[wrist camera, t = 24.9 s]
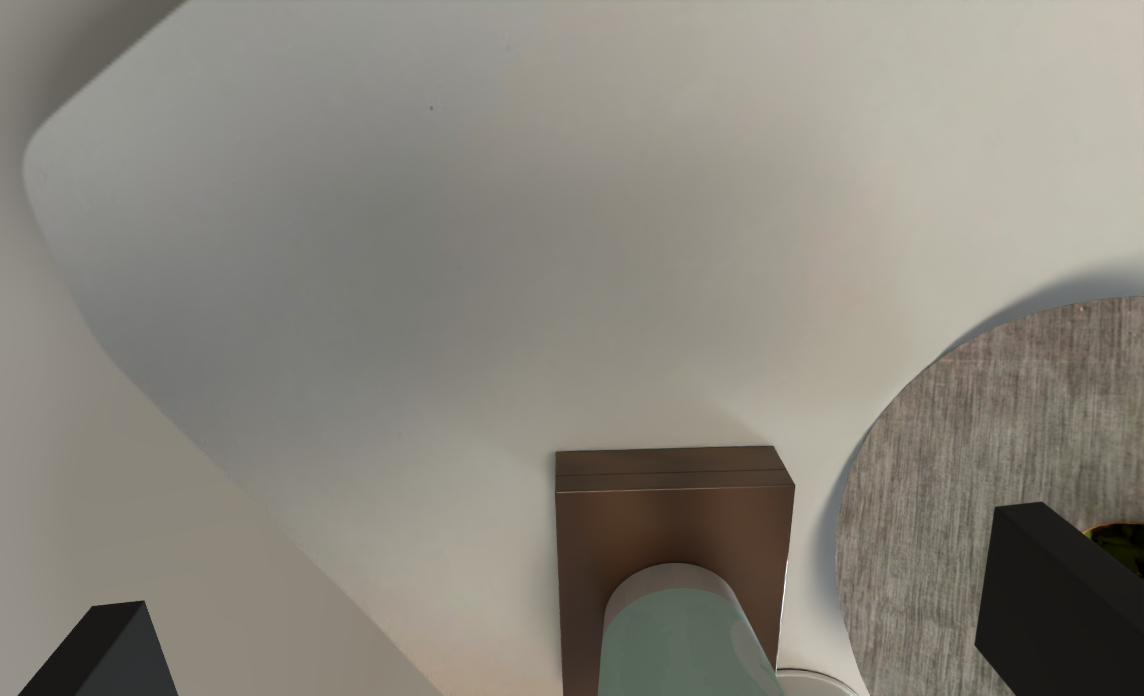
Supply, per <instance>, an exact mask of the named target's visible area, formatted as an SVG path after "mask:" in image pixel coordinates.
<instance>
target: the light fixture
mask: <svg viewBox="0 0 1144 696" xmlns="http://www.w3.org/2000/svg"><path fill="white" fill-rule="evenodd" d="M776 676H777V678H778V680H779V682H780V684H781V686H782V688H783V690H784V692H785V694H786V696H857V695H856V693H855V692H853V691H852V690H851V689H850V688H849V687H847V686H846V685H844V684H843V683H841V682H839V681H837V680H835V679H833V678H830V677H828V676H825V675H822V674H818V673H814V672H809V671H801V670H776Z"/></svg>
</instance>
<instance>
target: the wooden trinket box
mask: <svg viewBox="0 0 1144 696" xmlns="http://www.w3.org/2000/svg"><path fill="white" fill-rule="evenodd" d="M794 493H795V484H794V482H793V480H792V478H791V477H790V475H789V473H788V471H787V470H786V468H785V466H784V464H783V462H782V460H781V459H780V457H779V455H778V453H777V452H776V450H775V448H774V446H759V447H723V448H687V449H652V450H616V451H581V452H556V468H555V505H556V530H557V555H558V579H559V604H560V628H561V653H562V677H563V696H598V686H599V674H600V661H601V649H602V639H603V627H604V616H605V610H606V606H607V604H608V601H609V599H610V597H611V595H612V594H613V592H614V591H615V590H616V589H617V587H618V586H619V585H620V584H621V583H622V582H623V581H625V580H626V579H627V578H629V577H630V576H632V575H633V574H635V573H637V572H639V571H641V570H643V569H645V568H648V567H651V566H655V565H660V564H666V563H685V564H692V565H696V566H700V567H703V568H705V569H707V570H710V571H712V572H713V573H715V574H717V575H718V576H719V577H721V578H722V579H723V580H724V581H725V582H726V583H727V584H728V585H729V586H730V588H731V589H732V590H733V592H734V594H735V596H736V598H737V600H738V602H739V604H740V606H741V608H742V610H743V611H744V613H745V615H746V617H747V619H748V621H749V623H750V625H751V627H752V629H753V631H754V633H755V635H756V637H757V639H758V641H759V643H760V645H761V647H762V649H763V651H764V653H765V655H766V657H767V659H768V661H769V663H770V665H771V667H772V669H773V671H774V673H775V675H776V669H777V659H778V650H779V640H780V630H781V620H782V611H783V601H784V591H785V581H786V571H787V562H788V552H789V542H790V532H791V522H792V513H793V503H794Z"/></svg>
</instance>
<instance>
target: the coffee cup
mask: <svg viewBox="0 0 1144 696" xmlns="http://www.w3.org/2000/svg"><path fill="white" fill-rule="evenodd" d="M598 696H786V694H785V692H784V690H783V688H782V686H781V684H780V682H779V680H778V678H777V676H776V675H775V673H774V671H773V669H772V667H771V665H770V663H769V661H768V659H767V657H766V655H765V653H764V651H763V649H762V647H761V645H760V643H759V641H758V639H757V637H756V635H755V633H754V631H753V629H752V627H751V625H750V623H749V621H748V619H747V617H746V615H745V613H744V611H743V610H742V608H741V606H740V604H739V602H738V600H737V598H736V596H735V594H734V592H733V590H732V589H731V588H730V586H729V585H728V584H727V583H726V582H725V581H724V580H723V579H722V578H721V577H719V576H718V575H717V574H715V573H713V572H712V571H710V570H707V569H705V568H703V567H700V566H696V565H692V564H685V563H666V564H660V565H655V566H651V567H648V568H645V569H643V570H641V571H639V572H637V573H635V574H633V575H632V576H630V577H629V578H627V579H626V580H625V581H623V582H622V583H621V584H620V585H619V586H618V587H617V589H616V590H615V591H614V592H613V594H612V595H611V597H610V599H609V601H608V604H607V606H606V610H605V616H604V627H603V639H602V649H601V661H600V674H599V686H598Z"/></svg>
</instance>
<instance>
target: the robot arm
mask: <svg viewBox="0 0 1144 696" xmlns="http://www.w3.org/2000/svg"><path fill="white" fill-rule="evenodd" d="M974 646H975V647H976V648H977V649H978V651H979V652H980V653H981V654H982V655H983V657H984V658H985V659H986V660H987V661H988V663H989V664H990V665H991V666H992V668H993V669H994V670H995V671H996V672H997V674H998V675H999V676H1000V677H1001V679H1002V680H1003V681H1004V682H1005V683H1006V685H1007V686H1008V687H1009V688H1010V689H1011V691H1012V692H1013V693H1014V694H1015V696H1144V581H1143V580H1142V579H1141V578H1139V577H1138V576H1137V575H1136V574H1134V573H1133V572H1132V571H1130V570H1129V569H1128V568H1127V567H1125V566H1124V565H1123V564H1121V563H1120V562H1119V561H1118V560H1116V559H1115V558H1114V557H1112V556H1111V555H1110V554H1109V553H1107V552H1106V551H1105V550H1104V549H1102V548H1101V547H1100V546H1098V545H1097V544H1096V543H1095V542H1093V541H1092V540H1091V539H1089V538H1088V537H1087V536H1086V535H1084V534H1083V533H1082V532H1081V531H1079V530H1078V529H1077V528H1075V527H1074V526H1073V525H1072V524H1070V523H1069V522H1068V521H1066V520H1065V519H1064V518H1063V517H1061V516H1060V515H1059V514H1058V513H1056V512H1055V511H1054V510H1052V509H1051V508H1050V507H1049V506H1047V505H1046V504H1045V503H1043V502H1042V501H1041V502H1032V503H1023V504H1014V505H1005V506H996V507H995V509H994V515H993V522H992V529H991V535H990V542H989V549H988V556H987V562H986V569H985V576H984V582H983V589H982V596H981V603H980V609H979V616H978V623H977V629H976V636H975V643H974ZM18 696H178V694H177V691H176V688H175V685H174V682H173V680H172V677H171V674H170V671H169V669H168V666H167V663H166V660H165V657H164V654H163V652H162V649H161V646H160V643H159V640H158V638H157V635H156V632H155V629H154V626H153V624H152V621H151V618H150V615H149V612H148V609H147V607H146V604H145V601H135V602H126V603H117V604H108V605H99V606H92V607H91V608H90V610H89V611H88V612H87V613H86V614H85V615H84V617H83V618H82V619H81V620H80V621H79V623H78V624H77V625H76V626H75V627H74V629H73V630H72V631H71V632H70V633H69V635H68V636H67V637H66V638H65V639H64V641H63V642H62V643H61V644H60V645H59V647H58V648H57V649H56V650H55V652H54V653H53V654H52V655H51V656H50V657H49V659H48V660H47V661H46V662H45V663H44V665H43V666H42V667H41V668H40V669H39V671H38V672H37V673H36V674H35V675H34V677H33V678H32V679H31V680H30V681H29V683H28V684H27V685H26V686H25V687H24V689H23V690H22V691H21V692H20V693H19V695H18Z"/></svg>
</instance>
